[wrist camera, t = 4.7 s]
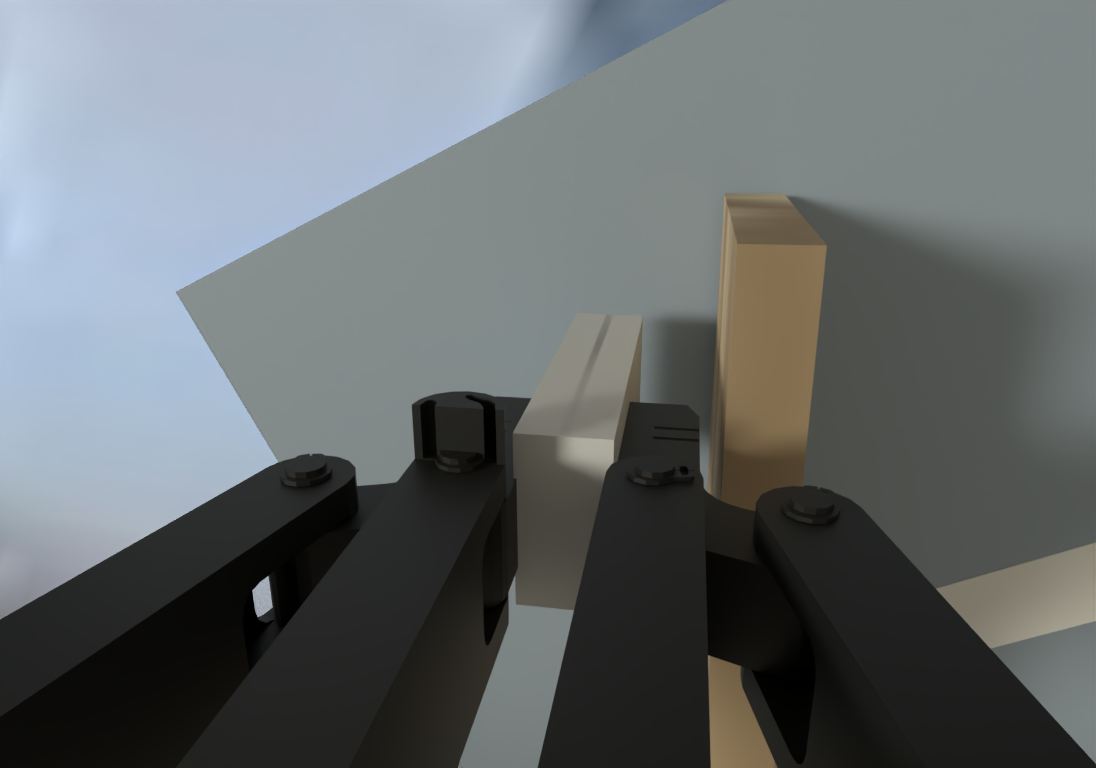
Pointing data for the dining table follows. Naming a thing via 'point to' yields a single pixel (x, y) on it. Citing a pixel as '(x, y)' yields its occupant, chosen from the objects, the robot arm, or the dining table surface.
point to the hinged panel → (759, 401)
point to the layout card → (693, 285)
